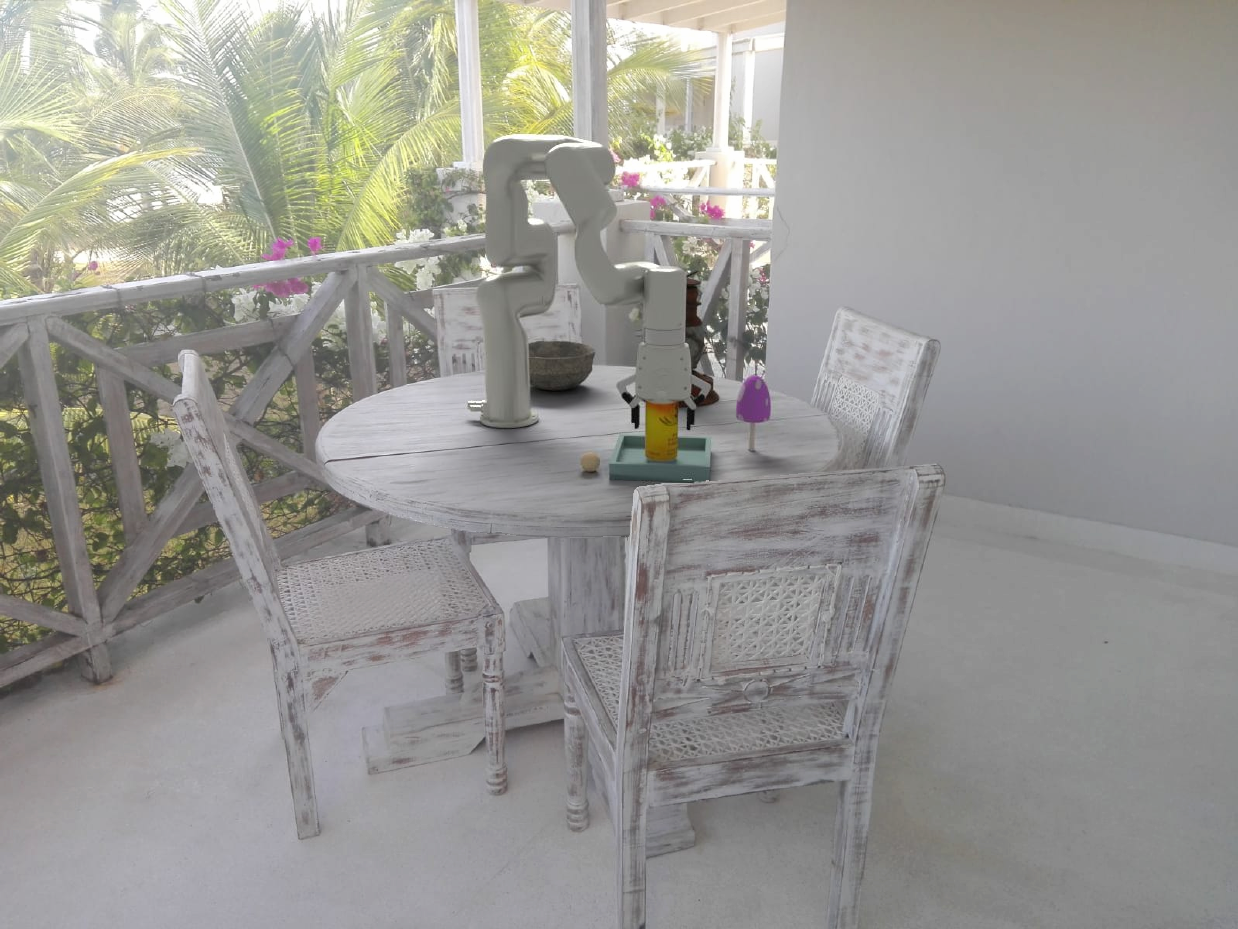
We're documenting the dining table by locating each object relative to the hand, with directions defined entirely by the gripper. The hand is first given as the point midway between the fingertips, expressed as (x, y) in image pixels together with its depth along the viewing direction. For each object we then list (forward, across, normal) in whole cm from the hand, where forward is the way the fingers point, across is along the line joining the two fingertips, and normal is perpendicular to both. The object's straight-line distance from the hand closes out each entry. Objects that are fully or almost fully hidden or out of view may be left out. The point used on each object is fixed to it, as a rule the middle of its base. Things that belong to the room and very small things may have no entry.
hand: (662, 427), depth 175 cm
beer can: (+6, 0, 0) cm, 7 cm away
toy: (+7, +17, +11) cm, 22 cm away
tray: (+7, 0, 0) cm, 7 cm away
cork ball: (+7, -13, -5) cm, 16 cm away
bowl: (+8, -30, +55) cm, 63 cm away
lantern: (+8, +1, +50) cm, 51 cm away
